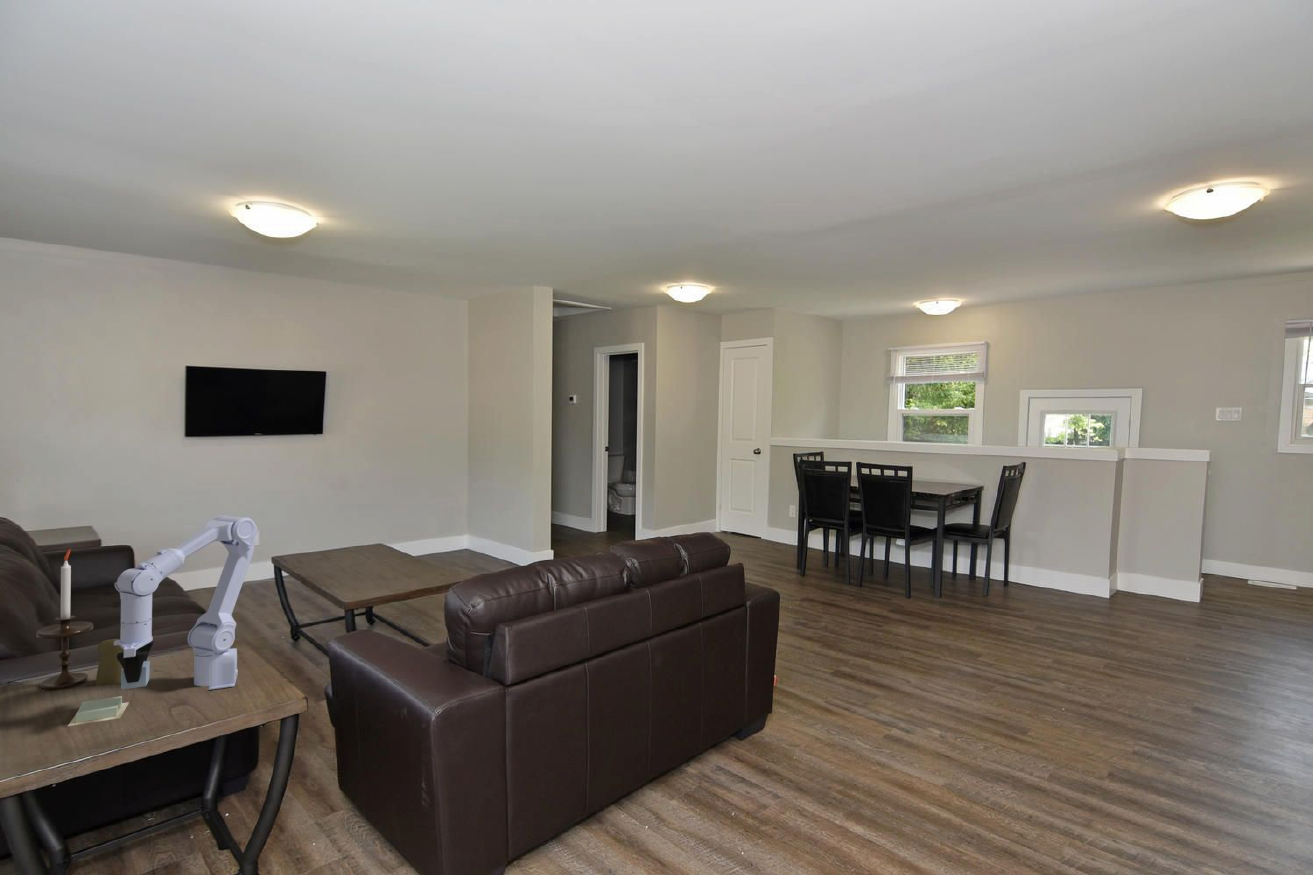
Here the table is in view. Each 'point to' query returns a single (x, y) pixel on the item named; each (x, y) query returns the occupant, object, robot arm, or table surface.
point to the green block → (99, 709)
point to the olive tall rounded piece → (108, 663)
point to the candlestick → (64, 636)
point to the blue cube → (142, 681)
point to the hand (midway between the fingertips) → (135, 677)
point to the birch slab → (102, 718)
